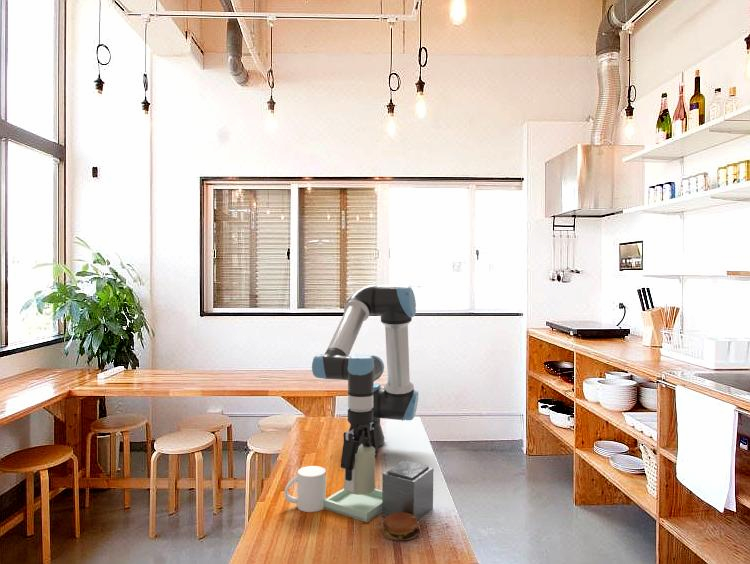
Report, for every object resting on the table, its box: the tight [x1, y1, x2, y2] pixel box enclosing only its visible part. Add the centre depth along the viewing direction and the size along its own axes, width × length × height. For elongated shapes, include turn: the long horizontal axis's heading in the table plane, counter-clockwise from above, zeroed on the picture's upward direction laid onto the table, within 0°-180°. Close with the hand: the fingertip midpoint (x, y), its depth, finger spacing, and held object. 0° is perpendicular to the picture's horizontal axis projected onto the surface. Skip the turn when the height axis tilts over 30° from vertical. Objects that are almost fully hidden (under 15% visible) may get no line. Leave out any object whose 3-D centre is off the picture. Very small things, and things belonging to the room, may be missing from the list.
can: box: [343, 444, 376, 495], centre depth 152 cm, size 9×9×12 cm
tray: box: [323, 487, 382, 523], centre depth 152 cm, size 15×15×2 cm
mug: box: [283, 465, 327, 513], centre depth 151 cm, size 8×10×12 cm
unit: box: [381, 460, 434, 522], centre depth 148 cm, size 12×10×13 cm
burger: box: [382, 512, 421, 541], centre depth 136 cm, size 10×9×5 cm
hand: (359, 484), depth 152 cm, fingers closed on can, 9 cm apart
